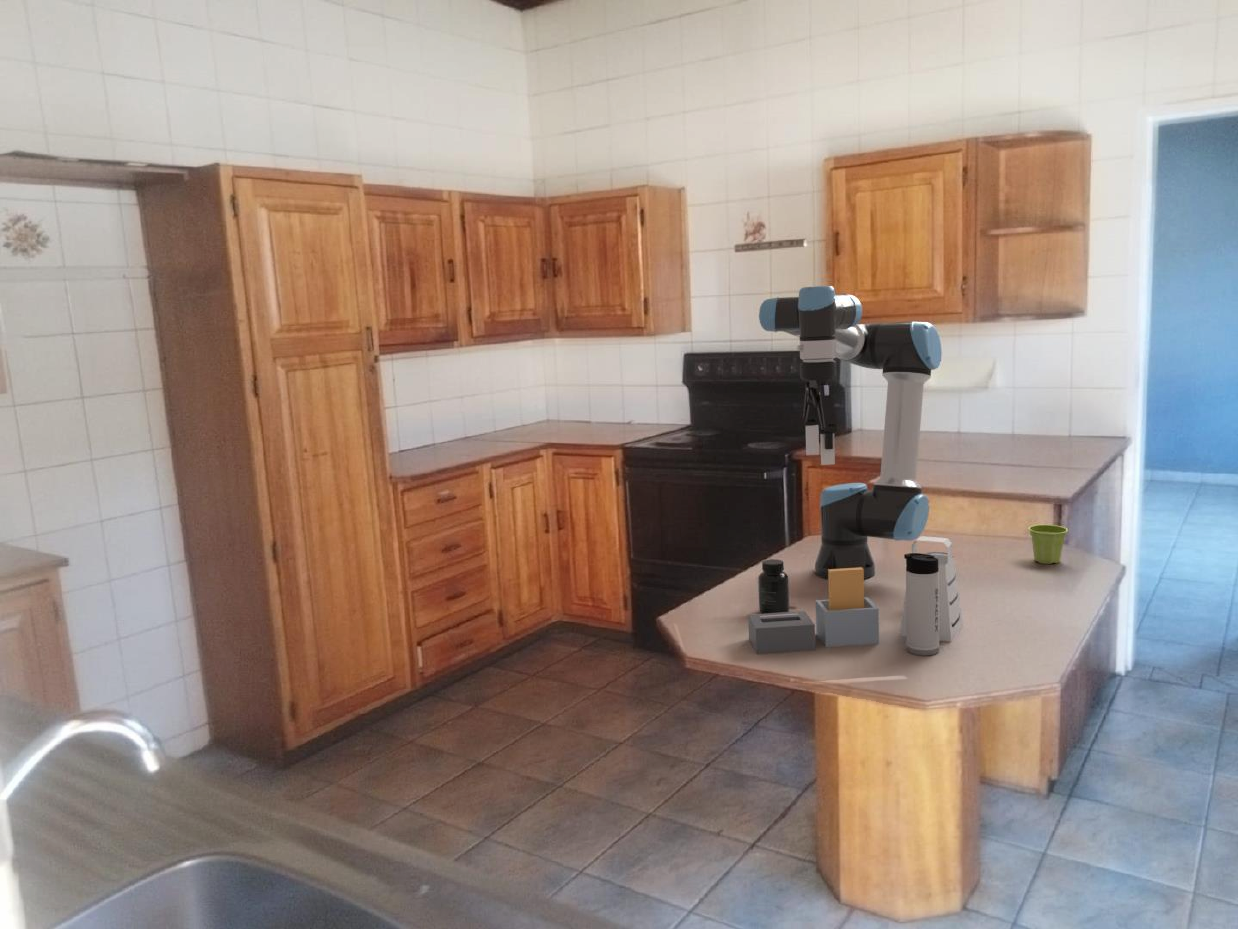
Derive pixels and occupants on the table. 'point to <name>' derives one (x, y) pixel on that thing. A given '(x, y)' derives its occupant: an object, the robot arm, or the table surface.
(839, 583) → the orange rectangular block
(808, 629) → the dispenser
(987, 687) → the table surface
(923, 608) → the travel mug
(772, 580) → the supplement bottle
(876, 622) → the bin
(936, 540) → the grater
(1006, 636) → the table surface
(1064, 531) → the plant pot
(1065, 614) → the table surface
